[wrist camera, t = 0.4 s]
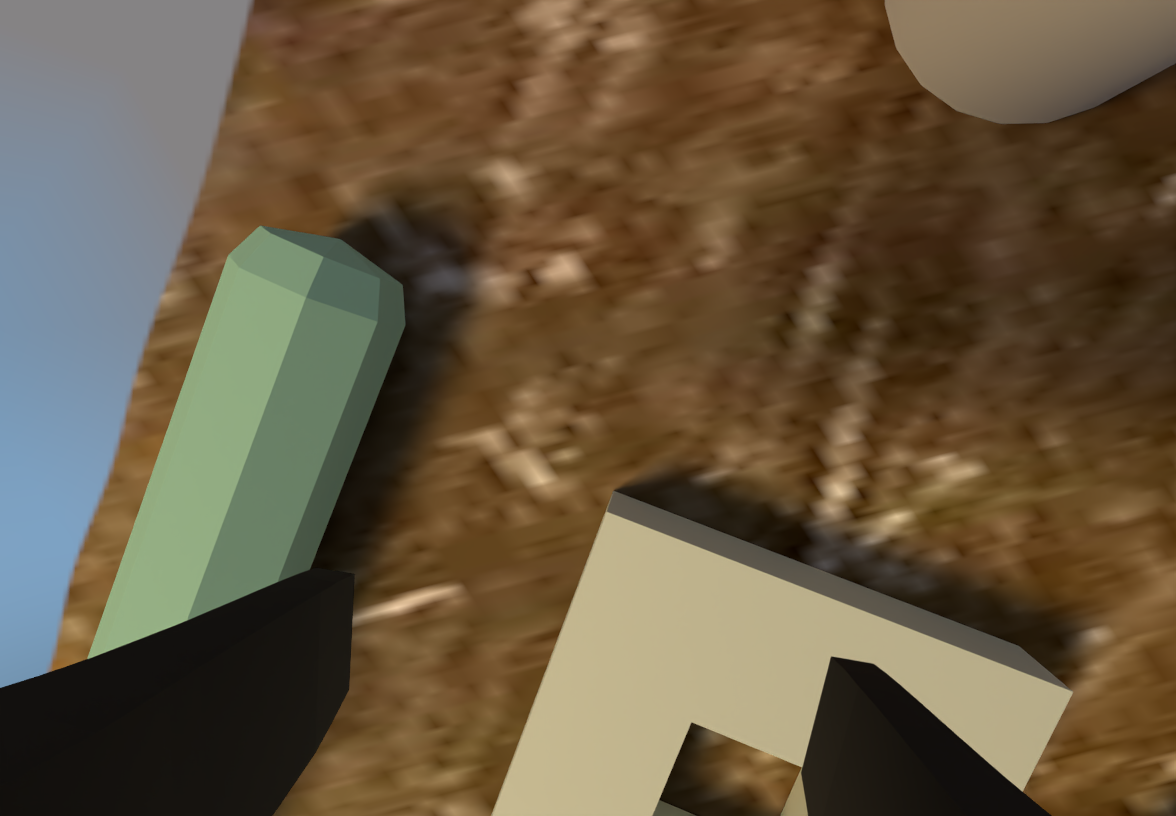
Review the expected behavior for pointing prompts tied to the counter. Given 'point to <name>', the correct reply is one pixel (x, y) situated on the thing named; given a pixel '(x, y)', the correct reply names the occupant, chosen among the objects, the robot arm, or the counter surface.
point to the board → (740, 668)
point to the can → (1032, 52)
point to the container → (258, 431)
